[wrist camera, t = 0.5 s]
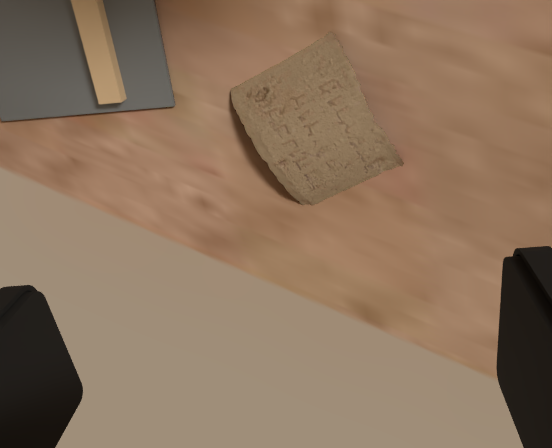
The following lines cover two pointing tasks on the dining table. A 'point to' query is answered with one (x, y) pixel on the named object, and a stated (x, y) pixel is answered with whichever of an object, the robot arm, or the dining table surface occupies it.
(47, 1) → the mat
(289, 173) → the clay tablet
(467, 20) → the dining table surface
